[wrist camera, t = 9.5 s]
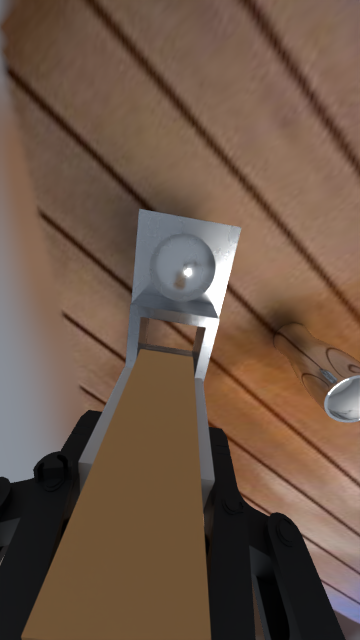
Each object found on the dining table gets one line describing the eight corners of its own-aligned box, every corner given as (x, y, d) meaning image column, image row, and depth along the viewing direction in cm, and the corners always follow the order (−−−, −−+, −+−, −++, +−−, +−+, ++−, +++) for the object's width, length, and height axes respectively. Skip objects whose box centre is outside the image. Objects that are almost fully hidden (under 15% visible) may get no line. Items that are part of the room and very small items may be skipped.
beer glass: (262, 344, 37) (308, 408, 23) (288, 313, 35) (357, 362, 21) (292, 361, 38) (354, 432, 24) (319, 332, 36) (405, 391, 22)
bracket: (142, 291, 23) (130, 304, 18) (212, 303, 23) (219, 319, 18) (130, 407, 29) (119, 439, 24) (186, 415, 29) (186, 448, 24)
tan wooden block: (140, 348, 15) (21, 636, 4) (193, 357, 16) (212, 657, 4) (136, 391, 17) (38, 689, 6) (184, 398, 17) (181, 703, 6)
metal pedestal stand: (155, 219, 30) (116, 193, 13) (222, 231, 30) (266, 221, 14) (144, 322, 36) (107, 394, 19) (200, 331, 36) (212, 410, 20)
